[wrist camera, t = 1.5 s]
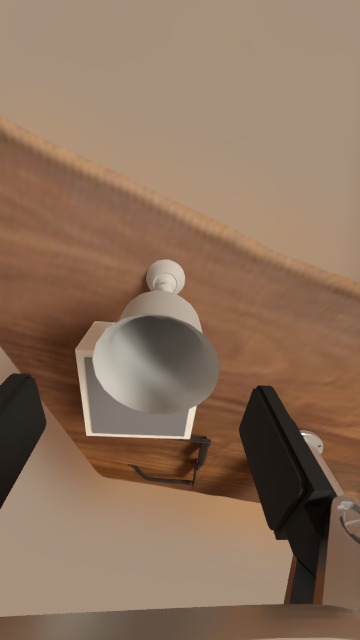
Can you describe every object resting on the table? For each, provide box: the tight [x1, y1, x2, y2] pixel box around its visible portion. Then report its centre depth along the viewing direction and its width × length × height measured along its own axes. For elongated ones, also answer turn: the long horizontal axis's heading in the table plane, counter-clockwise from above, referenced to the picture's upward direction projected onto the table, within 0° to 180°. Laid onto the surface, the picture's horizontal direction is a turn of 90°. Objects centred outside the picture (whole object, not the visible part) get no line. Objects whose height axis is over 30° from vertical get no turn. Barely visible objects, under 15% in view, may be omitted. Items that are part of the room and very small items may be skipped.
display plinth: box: [75, 321, 196, 439], centre depth 31 cm, size 15×15×7 cm
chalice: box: [92, 260, 220, 414], centre depth 20 cm, size 7×7×18 cm
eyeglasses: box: [128, 437, 211, 488], centre depth 43 cm, size 15×15×5 cm
